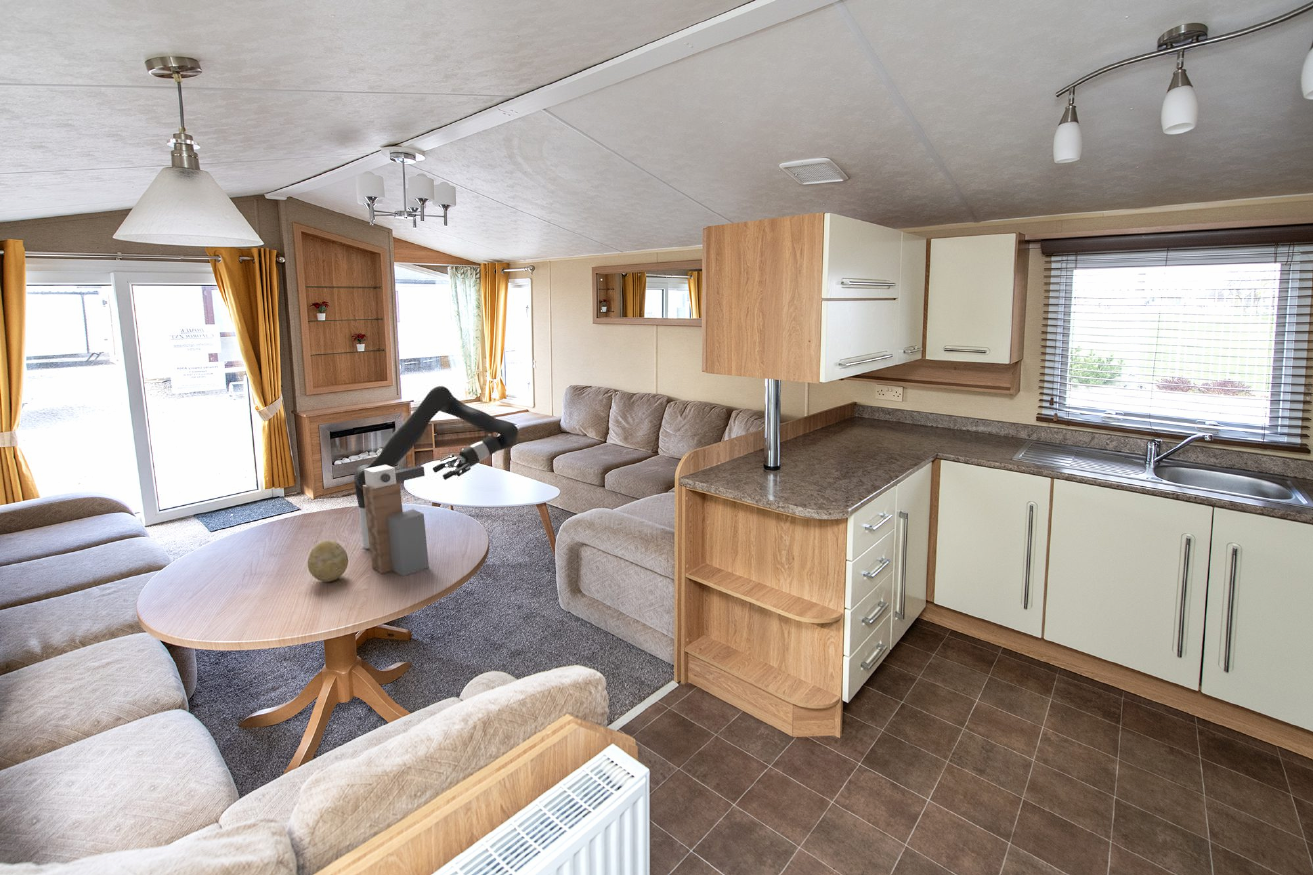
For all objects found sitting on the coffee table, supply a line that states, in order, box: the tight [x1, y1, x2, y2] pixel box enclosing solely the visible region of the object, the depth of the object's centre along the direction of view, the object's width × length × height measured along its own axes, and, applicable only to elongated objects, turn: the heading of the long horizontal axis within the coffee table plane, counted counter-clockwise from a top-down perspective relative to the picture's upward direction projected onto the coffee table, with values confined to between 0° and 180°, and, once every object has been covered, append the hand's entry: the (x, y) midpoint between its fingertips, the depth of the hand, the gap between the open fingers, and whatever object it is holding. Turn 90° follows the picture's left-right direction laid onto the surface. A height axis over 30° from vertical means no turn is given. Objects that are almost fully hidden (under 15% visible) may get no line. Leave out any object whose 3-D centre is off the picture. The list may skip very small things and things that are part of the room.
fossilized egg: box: [307, 539, 349, 583], centre depth 223 cm, size 13×13×15 cm
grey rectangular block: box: [387, 509, 430, 577], centre depth 231 cm, size 8×10×21 cm
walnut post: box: [363, 482, 404, 575], centre depth 232 cm, size 8×10×32 cm
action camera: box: [364, 465, 426, 489], centre depth 232 cm, size 9×20×6 cm, turn 138°
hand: (438, 474), depth 242 cm, fingers open, 8 cm apart
